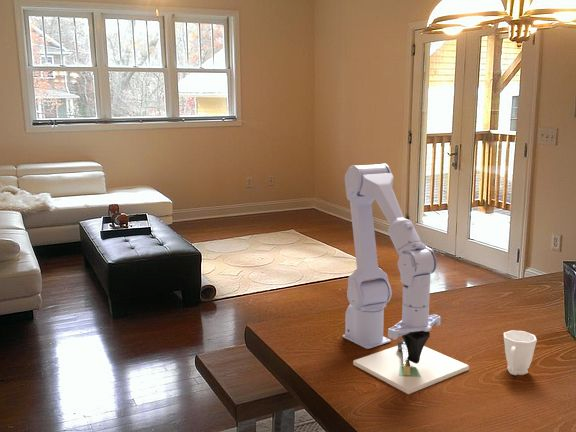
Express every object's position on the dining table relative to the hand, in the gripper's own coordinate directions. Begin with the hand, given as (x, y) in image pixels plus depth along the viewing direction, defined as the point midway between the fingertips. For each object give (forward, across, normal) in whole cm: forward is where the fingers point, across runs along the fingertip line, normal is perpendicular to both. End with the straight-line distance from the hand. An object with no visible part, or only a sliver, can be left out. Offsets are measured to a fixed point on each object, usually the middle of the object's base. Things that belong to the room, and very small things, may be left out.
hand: (413, 361), depth 128 cm
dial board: (+2, 0, +2) cm, 3 cm away
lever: (+1, 0, +3) cm, 3 cm away
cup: (+2, +17, -14) cm, 22 cm away
